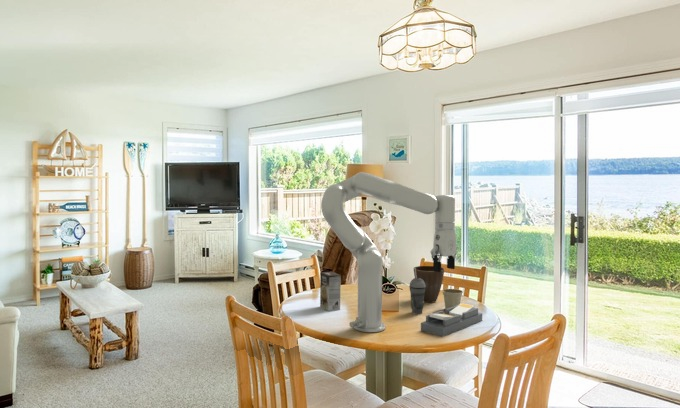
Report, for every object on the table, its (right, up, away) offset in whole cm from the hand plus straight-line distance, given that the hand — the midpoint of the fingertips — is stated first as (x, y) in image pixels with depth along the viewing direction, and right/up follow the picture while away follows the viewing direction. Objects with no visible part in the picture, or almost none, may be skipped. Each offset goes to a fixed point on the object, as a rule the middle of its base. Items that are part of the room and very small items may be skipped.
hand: (444, 270), depth 179 cm
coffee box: (-45, -22, +31) cm, 59 cm away
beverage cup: (-6, -23, +24) cm, 34 cm away
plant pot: (+3, -22, +46) cm, 51 cm away
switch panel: (+5, -23, +6) cm, 24 cm away
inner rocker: (0, -19, +1) cm, 18 cm away
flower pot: (+11, -23, +30) cm, 39 cm away
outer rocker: (+10, -18, +11) cm, 23 cm away
